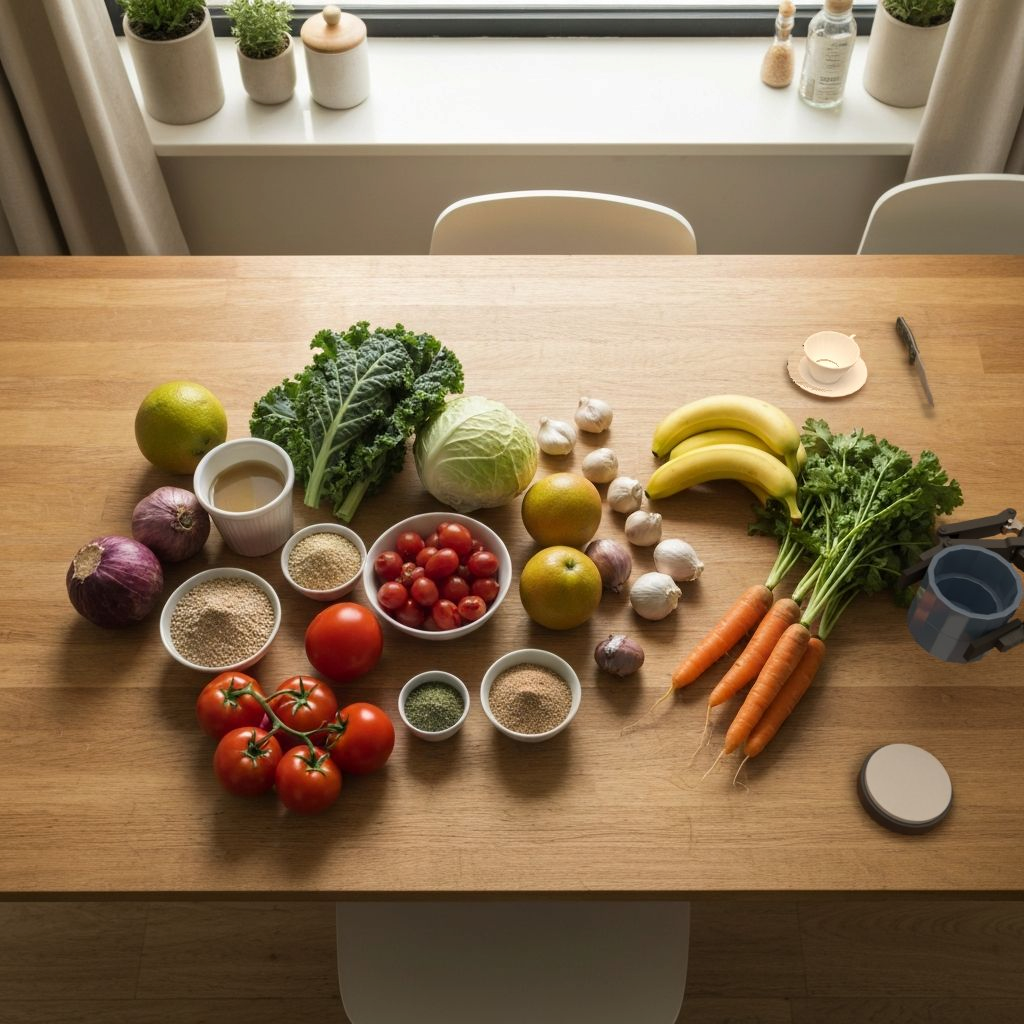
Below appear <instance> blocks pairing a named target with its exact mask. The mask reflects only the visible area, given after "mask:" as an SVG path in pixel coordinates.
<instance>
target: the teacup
mask: <svg viewBox="0 0 1024 1024" xmlns="http://www.w3.org/2000/svg"><path fill="white" fill-rule="evenodd" d="M856 337H857V335H856V334H855V333H853V334H851V335H850V336H848V335H847V334H844V333H841V332H837V331H829V330H824V331H818V332H816V333H813V334H811V335H810V336H808V337H807V338H806V340H805V342H804V344H803V345H804V351H805V355H806V356H804V357H803V358H802V359H801V360H800V363H799V365H798V370H799V373H800V375H801V377H802V378H803V379H804V380H805V381H806V382H807V383H808V384H810V385H812V386H814V387H817V388H820V389H825V390H832V391H825V390H824V391H825V392H824V391H823V390H822V391H823V392H822V391H818V390H817V391H816V390H811V389H812V388H809V387H808V388H807V387H806V386H805V387H806V388H805V387H804V386H803V385H800V384H798V383H796V381H795V380H792V381H793V382H794V381H795V383H794V384H795V385H797V386H798V387H799V386H800V387H799V388H801V389H802V390H804V391H806V392H807V393H810V394H813V395H815V396H816V395H817V396H820V397H825V398H841V397H845V396H849V395H851V394H854V393H856V392H857V391H859V390H860V389H861V388H862V387H863V386H864V385H865V384H866V382H867V379H868V368H867V366H866V363H865V360H863V358H861V350H860V346H859V345H858V344H857V342H856V341H855V340H856ZM820 359H828V360H831V361H833V362H835V363H837V365H838V366H839V367H838V366H837V365H836V364H834V363H832V362H829V361H820V362H816V361H817V360H820ZM853 366H854V367H853ZM810 371H811V372H810ZM812 374H813V375H814V376H815V377H816V378H815V377H814V376H813V375H812ZM791 378H792V377H790V379H791ZM817 378H818V379H817ZM819 379H820V380H819ZM822 380H823V381H822ZM835 380H836V381H835ZM826 381H831V382H826Z"/></svg>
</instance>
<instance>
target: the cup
mask: <svg viewBox="0 0 1024 1024" xmlns="http://www.w3.org/2000/svg"><path fill="white" fill-rule="evenodd" d="M1023 597H1024V586H1023V579H1022V577H1021V576H1020V575H1019V573H1018V572H1017V570H1016V567H1015V566H1014V564H1013V563H1009V562H1008V561H1006V560H1005V559H1004V558H1003V557H1001V556H1000V555H999V554H997V553H995V552H993V551H990V550H988V549H985V548H983V547H980V546H972V545H957V546H952V547H947V548H945V549H943V550H942V551H940V552H939V553H938V554H936V555H935V556H934V557H933V559H932V561H931V563H930V565H929V567H928V569H927V571H926V574H925V576H924V578H923V579H922V580H921V582H920V584H919V586H918V589H917V591H916V593H915V595H914V597H913V599H912V601H911V604H910V606H909V608H908V610H907V612H906V621H907V629H908V631H909V633H910V635H911V637H912V638H913V640H914V642H915V643H916V645H918V646H919V647H920V648H921V649H923V650H924V651H925V652H926V653H927V654H928V655H930V656H932V657H933V658H937V659H939V660H941V661H943V662H945V663H951V664H952V663H953V664H961V665H965V664H970V663H974V662H975V663H976V662H979V661H981V660H983V659H984V658H985V657H987V656H988V655H989V654H991V653H992V652H993V650H994V648H993V649H991V650H989V651H987V652H985V653H983V654H982V655H980V656H978V657H976V658H974V659H972V660H970V661H969V662H967V661H966V660H965V659H964V658H963V655H964V653H965V651H966V650H967V648H968V646H969V644H970V643H971V642H973V641H975V640H977V639H979V638H981V637H983V636H984V635H986V634H988V633H990V632H992V631H994V630H996V629H998V628H999V627H1001V626H1003V625H1005V624H1007V623H1009V622H1011V621H1012V619H1013V617H1014V615H1015V613H1016V612H1017V610H1018V609H1019V607H1020V604H1021V602H1022V599H1023Z"/></svg>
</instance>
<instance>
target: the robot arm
mask: <svg viewBox="0 0 1024 1024" xmlns="http://www.w3.org/2000/svg"><path fill="white" fill-rule="evenodd" d="M1017 514H1018V512H1017V510H1016V509H1014V508H1012V507H1008V508H1006V509H1004V510H1002V511H1001V512H999V513H997V514H994V515H990V516H984V517H983V516H982V517H979V518H973V519H967V520H963V521H957V522H952V523H948V524H942V525H939V526H937V528H936V530H935V532H934V535H933V537H932V539H931V544H932V545H933V546H934V547H931V548H929V549H927V550H926V551H923V552H921V554H920V555H919V556H918V558H917V560H916V563H915V564H913V565H912V566H910V567H908V568H906V569H904V570H902V571H901V574H900V576H899V578H898V581H897V582H896V586H897V588H898V589H899V590H900V591H902V590H904V589H907V588H908V587H910V586H912V585H914V584H916V583H918V582H920V581H922V580H923V578H924V576H925V574H926V571H927V569H928V567H929V565H930V563H931V561H932V559H933V557H934V556H935V555H936V554H938V553H939V552H940V551H942V550H943V549H945V548H947V547H952V546H957V545H972V546H980V547H983V548H985V549H988V550H990V551H993V552H995V553H997V554H999V555H1000V556H1001V557H1003V558H1004V559H1005V560H1006V561H1008V562H1009V563H1010V564H1012V565H1013V566H1014V567H1015V568H1016V569H1017V570H1019V571H1021V572H1022V573H1024V523H1023V522H1022V521H1020V520H1019V519H1018V518H1017ZM1000 534H1001V536H1002V535H1003V536H1007V535H1008V534H1015V535H1017V536H1008V537H1006V538H994V539H993V538H991V537H995V536H998V535H1000ZM1023 643H1024V620H1023V621H1022V620H1021V619H1020V618H1018V617H1016V618H1015V619H1013V620H1010V622H1009V623H1007V624H1005V625H1003V626H1001V627H999V628H998V629H996V630H994V631H992V632H990V633H988V634H986V635H984V636H983V637H981V638H979V639H977V640H975V641H973V642H971V643H970V644H969V646H968V648H967V650H966V651H965V653H964V655H963V658H964V659H965V660H966V661H967V662H969V661H970V660H972V659H974V658H976V657H978V656H980V655H982V654H983V653H985V652H987V651H989V650H991V649H993V650H994V648H995V649H996V650H997V651H998V652H999V653H1006V652H1008V651H1010V650H1012V649H1014V648H1016V647H1018V646H1019V645H1022V644H1023Z"/></svg>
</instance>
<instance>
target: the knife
mask: <svg viewBox="0 0 1024 1024" xmlns="http://www.w3.org/2000/svg"><path fill="white" fill-rule="evenodd" d="M895 324H896V330H897V333H898V334H899V336H900V338H901V341H902V343H903V344H904V345H905V346H906V348H907V351H908V352H907V353H908V362H909V363H910V364H911V365H914V367H915V370H916V373H917V376H918V379H919V381H920V385H921V387H922V390H923V392H924V395H925V398H926V400H927V402H928V404H929V406H930V407H932V408H933V409H935V402H934V397H933V393H932V390H931V388H930V385H929V381H928V378H927V375H926V369H925V367H924V364H923V361H922V360H921V359H922V358H921V355H920V350H919V348H918V346H917V342H916V339H915V336H914V334H913V332H912V330H911V328H910V327H909V325H908V324H907V322H906V320H905V318H904V317H903V316H898V317H897V318H896V323H895Z"/></svg>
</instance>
